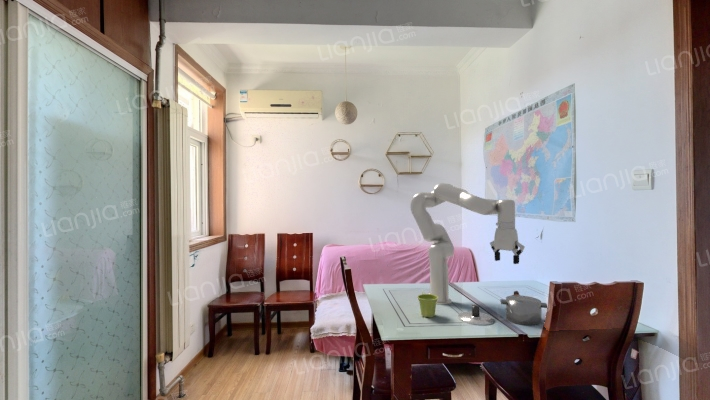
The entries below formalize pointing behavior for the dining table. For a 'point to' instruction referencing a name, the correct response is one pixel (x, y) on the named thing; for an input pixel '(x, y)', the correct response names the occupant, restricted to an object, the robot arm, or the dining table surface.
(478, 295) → the dining table surface
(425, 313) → the plant pot
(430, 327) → the dining table surface
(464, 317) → the lid
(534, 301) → the pot
